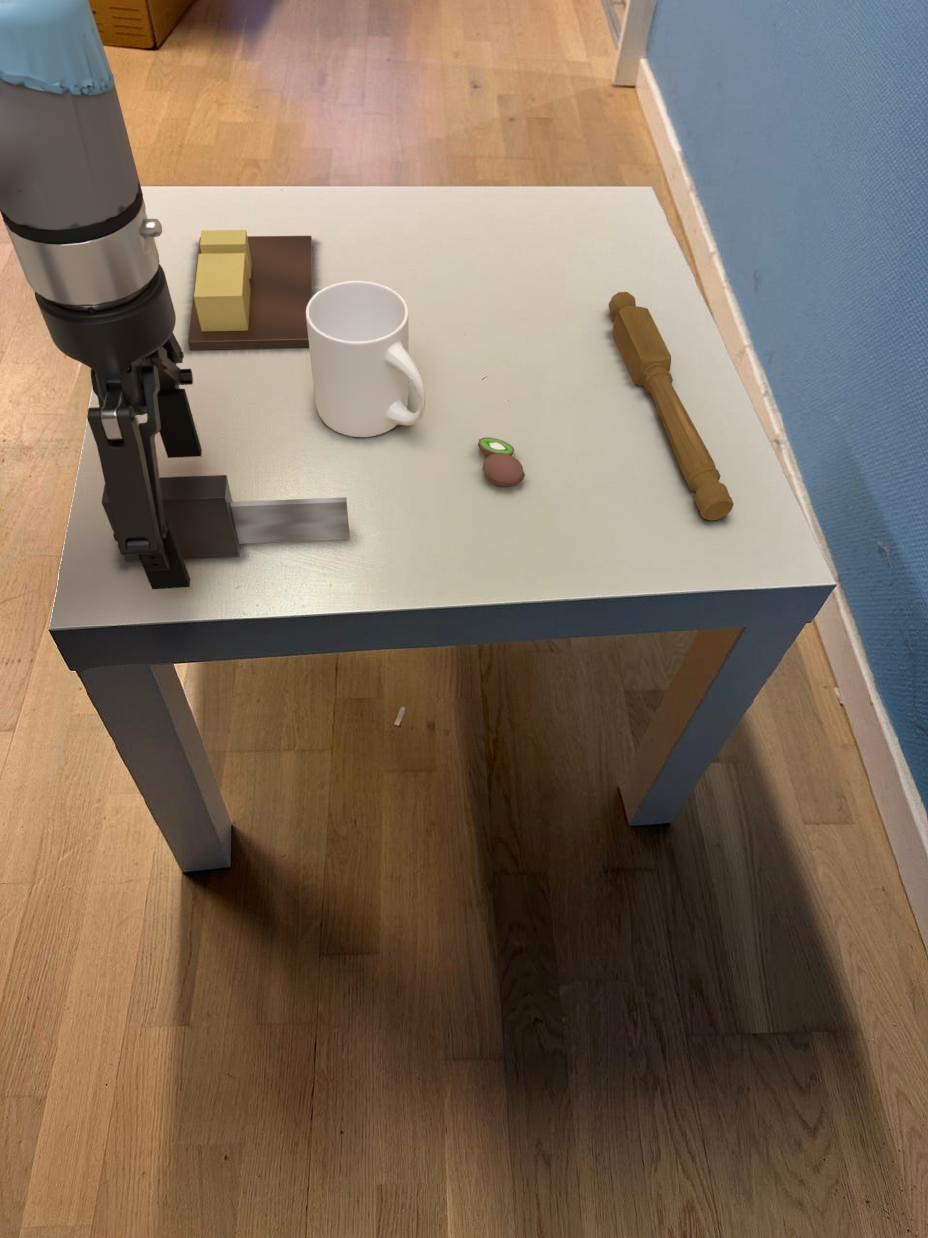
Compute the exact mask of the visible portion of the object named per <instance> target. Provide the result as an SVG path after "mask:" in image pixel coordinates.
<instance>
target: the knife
mask: <svg viewBox="0 0 928 1238" xmlns="http://www.w3.org/2000/svg"><path fill="white" fill-rule="evenodd" d="M159 478H160V486H161V494H162V502H163V510H164V518H165V522H168V521H170V523H171V526H172V528H173V531H174V534H175V537H176V540H177V543H178V546H179V548H180V551H181V554H182V557H183V560H194V559H213V558H214V559H215V558H218V559H219V558H235V557H236V558H238V557H240V547H241V544H262V543H282V542H283V543H285V542H303V541H306V542H307V541H327V540H349V539H350V525H349V513H348V511H349V510H348V501H347V500H348V499H347V497H346V496H344V497H321V498H320V497H319V498H318V497H317V498H296V499H269V500H268V499H267V500H247V501H246V500H245V501H244V500H243V501H233V497H232V492H231V489H230V485H229V479H228V475H227V474H214V475H190V476H188V475H187V476H166V477H165V476H164V477H163V476H162V477H160V476H159ZM102 491H103V492H102V496H101V497H102V498H101V504H102V508H103V510H104V512H105V515H106V518H107V520H108V522H109V525H110V527H111V530H112V532H113V533H115V532H116V531H115V527H114V522H113V517H112V513H111V508H110V503H109V499H108V494H107V490H106V485H105V484H104V485H103V490H102ZM116 542H117V543H118V541H116ZM122 557H123V559H124V561H125V562H126V563H129V562H132V563H133V562H141V561H140V559H139V556H138V554H132V555H122Z"/></svg>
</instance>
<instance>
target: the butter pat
mask: <svg viewBox="0 0 928 1238" xmlns="http://www.w3.org/2000/svg"><path fill="white" fill-rule="evenodd" d="M247 236H248V232H247V230H246V229H221V230H220V229H218V230H217V229H216V230H215V229H214V230H210V229H209V230H208V229H207V230H206V229H205V230H201V231H200V237H201V239H200V238H199V240H200V248H201V253H202V254H223V253H245V257H246V264H247V270H248V276H249V279H251V269H252V263H251V257H250V251H249V244H248V238H247Z"/></svg>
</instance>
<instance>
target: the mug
mask: <svg viewBox="0 0 928 1238" xmlns="http://www.w3.org/2000/svg"><path fill="white" fill-rule="evenodd" d="M409 312H410V311H409V307H408V305H407V302H406V301H405V299H404V298H403V297H402V296H401V295H400V294H399V293H398V292H397V291H395V290H394V289H392V288H391V287H388V286H386V285H384V284H381V283H379V282H373V281H368V280H367V281H366V280H345V281H341V282H340V281H339V282H336V283H333V284H330V285H328V286H325V287H323V288H322V289H320V290H318V291H317V292H316V293H315V294H313V297H312V298H311V299H310V301H309V302H308V305H307V307H306V321H307V330H308V339H309V347H308V348H309V356H310V358H309V359H310V366H311V367H310V368H311V375H312V377H311V378H312V384H313V393H314V394H313V395H314V402H315V408H316V411H317V413H318V416H319V418H320V419H321V421H322V422H323V423H324V424H325V425H326V426H327V427H328V428H329V429H331V430H332V431H335V432H337V433H339V434H340V435H341V434H342V435H344V436H347V437H348V436H349V437H353V438H354V437H355V438H371V437H375V436H380V435H383V434H385V433H387V432H390V431H391V430H392V429H395V427H397V426H398V425H401V426H412V425H415V424H417V423H418V422H419V421H420V420H421V419H422V418H423V416H424V412H425V407H426V391H425V386H424V385H425V384H424V382H423V379H422V376H421V373H420V371H419V370H418V368H417V365H416V364H415V362H414V361H413V359H412V358H411V355H409ZM409 382H410V383H411V384H412V385H413V387H414V389H415V390H416V393H417V395H418V398H419V403H420V405H419V408H418V410H417V411H416V412H412V411H410V410H409V409H408V407H409Z"/></svg>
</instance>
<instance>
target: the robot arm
mask: <svg viewBox="0 0 928 1238" xmlns="http://www.w3.org/2000/svg"><path fill="white" fill-rule="evenodd" d="M127 130H128V129H127V127H126V122H125V118H124V115H123V111H122V106H121V103H120V99H119V95H118V90H117V87H116V83H115V77H114V73H113V72H112V69H111V66H110V64H109V61H108V57H107V54H106V51H105V48H104V44H103V40H102V38H101V35H100V31H99V27H98V25H97V22H96V19H95V16H94V13H93V10H92V5H91V4H90V0H0V215H1V217H2V221H3V224H4V226H5V229H6V232H7V233H8V236H9V240H10V242H11V244H12V247H13V250H14V251H15V254H16V256H17V259H18V261H19V264H20V267H21V269H22V271H23V274H24V276H25V279H26V282H27V284H28V285H29V286H30V288H31V289H32V291H33V292H34V297H35V301H36V304H37V306H38V308H39V310H40V313H41V316H42V318H43V321H44V323H45V326H46V328H47V330H48V332H49V335H50V337H51V339H52V342H53V343H54V345H55V347H56V348H57V349H58V350H59V351H60V352H62V354H64V355H65V356H67V357H68V358H70V359H72V360H74V361H77V362H79V363H81V364H83V365H84V366H87V367H88V368H90V380H91V387H92V391H93V393H94V395H96V397H97V400H98V401H97V402H98V407H97V406H96V407H88V409H87V414H86V419H87V422H88V425H89V427H90V430H91V433H92V436H93V438H94V441H95V445H96V448H97V451H98V458H99V461H100V466H101V470H102V475H103V480H104V486H105V485H106V490H107V494H108V499H109V503H110V508H111V513H112V517H113V522H114V527H115V531H116V532H115V533H114V532H113V533H112V536H113V539H114V541H115V542H117V541H118V542H117V547H118V550H119V553H120V555H122V556H123V555H132V554H138V556H139V559H140V561H139V562H140V563H141V565H142V569H143V571H144V573H145V575H146V578H147V580H148V583H149V585H150V588H151V590H152V591H153V590H167V589H183V588H191V576H190V574H189V571H188V569H187V566H186V563H185V559H183V557H182V554H181V551H180V548H179V546H178V543H177V540H176V537H175V534H174V531H173V528H172V526H171V523H170V521H168V522H165V518H164V510H163V502H162V494H161V486H160V478H159V477H160V470H159V463H158V455H157V447H156V440H155V437H156V435H158V433H159V435H160V438H161V441H162V444H163V448H164V450H165V453H166V456H167V459H173V458H174V459H175V458H199V457H202V452H203V448H202V446H201V442H200V438H199V435H198V430H197V428H196V424H195V420H194V417H193V413H192V410H191V405H190V402H189V399H188V396H187V392H186V388H181V387H180V386H188V385H189V386H191V385H193V384H194V376H193V371H192V369H191V368H181V367H179V366H178V365H177V364H182V363H183V361H184V358H185V356H184V355H185V354H184V351H183V350H182V347H181V346H180V344H179V342H178V340H177V338H176V335H175V334H174V330H175V327H176V323H177V322H176V320H177V317H176V312H175V311H176V310H175V307H174V303H173V300H172V296H171V292H170V288H169V285H168V281H167V278H166V274H165V271H164V268H163V267H162V265H161V264H160V254H159V249H158V247H157V243H156V239H155V238H158V237H160V236H161V235H162V234H163V226H162V224H161V221H159V219H158V218H148V214H147V211H146V210H147V208H146V203H145V199H144V193H143V190H142V185H141V181H140V178H139V174H138V170H137V167H136V162H135V158H134V155H133V154H134V153H133V150H132V147H131V142H130V138H129V134H128V131H127ZM144 415H146V417H147V419H146V421H145V422H140V419H139V417H138V416H144Z"/></svg>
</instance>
